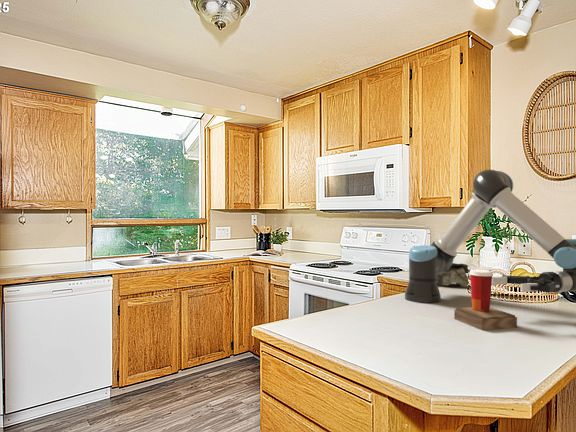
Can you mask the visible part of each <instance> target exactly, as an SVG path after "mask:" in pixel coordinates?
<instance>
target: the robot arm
mask: <svg viewBox="0 0 576 432" xmlns="http://www.w3.org/2000/svg"><path fill="white" fill-rule="evenodd" d="M472 187H473V190H472V191H471V198H470V200H469V201H468V202H467V203H466V205H465V206H464V207H463V208H462V209H461V211H460V212H459V213H458V214H457V216H456V218H455V219H454V220H453V222H452V223H451V224H450V225H449V227H448V228H447V229H446V231H445V232H443V234H442V236H441V237H440V238H437V239H434V241H432V243H431V244H430V245H429V244H428V245H425V244H424V245H414V246H412V247H411V248H410V249H409V252H408V259H409V260H408V264H409V265H408V282H407V283H408V284H407V286H406V288H405V293H404V298H405V299H406V300H407V301H411V302H416V303H426V304H427V303H438V302H441V299H442V298H441V297H442V296H441V292H440V289H439V285H438V284H437V272H442V271H445V270H447V269H448V268H449V267H450V266H451V265H452V263H454V259H455V258H456V256H458V253H457V250H458V249H459V248H460V247H461V245H462V244H463V243H464V241H465V240H466V239H467V238H468V236H469V235H470V234H471V233H472V231H474V229H475V228H476V226H477V225H478V224H479V223H480V221H481V220H482V219H483V218H484V217H485V216H486V214H487V213H488V212H489V210H490V209H493V208H497V209H498V210H499V211H500V212H501V213H503V214H504V215H505V216H506V217H507V218H508V219H509V220H510V221H511V222H512V223H513V224H515V225H516V226H517V227H518V228H519V229H520V230H522V231H523V232H524V233H525V234H526V235H527V236H528V237H529V238H530V239H531V240H533V242H535V243H536V244H537V245H539V247H540V248H542V249H543V250H544V251H545V252H546V253H547V255H549V256H550V257H551V258H552V259H553V261H554V263H555V264H556V265H557V266H558V267H560V268H562V270H560V271H559V270H558V271H544V272H543V271H542V272H541V273H540V274H539V275H538V276H529V275H525V276H524V275H523V276H522V275H504V274H503V275H502V276H497V277H492V285H496V286H498V285H505V286H507V285H508V284H512V285H520V286H519V287H520V293H534V292H540V293H541V292H544V293H547V294H548V293H549V294H551V293H558V294H562V293H563V292H564V293H565V292H576V238H575V239H574V238H565V237H564V236H563V235H561V234H560V233H559V232H558V231H557V230H556V229H555V228H553V227H552V226H551V225H550V224H549V223H547V222H546V221H545V220H544V219H543V218H542V217H540V215H538V213H536V212H535V211H534V210H533V209H531V208H530V207H529V206H528V205H526V204H525V203H524V202H523V201H522V200H521V199H520V198H519V197H517V196H516V195H515V194H513V189H514V182H513V179H512V178H511V176H510V175H509V174H508V173H506V172H504V171H502V170H495V169H484V170H482V171H480V172H478V173H477V174H476V175H475V177H474V179H473V182H472Z"/></svg>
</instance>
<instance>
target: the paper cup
mask: <svg viewBox="0 0 576 432" xmlns="http://www.w3.org/2000/svg"><path fill="white" fill-rule="evenodd" d="M468 275H470V291H471V293H470V295H471V307H472V309H473V310H476V311H482V312H487V311H489V309H490V307H491V296H492V295H491V285H492V276H493V274H492V272H491V271H489V270H478V269H476V268H475V269H471V270H470V272H468Z"/></svg>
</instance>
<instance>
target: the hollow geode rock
mask: <svg viewBox="0 0 576 432" xmlns="http://www.w3.org/2000/svg"><path fill="white" fill-rule="evenodd" d="M468 267H469V265H468V264H466V263H454V262H453V263H452V265H451V266H450V267H449V268H448V269H447V270H445V271H442V272H437V286H449V285H451V284H456V285H458V286H459V287H460V288H468V287H469V286H467V285H468V279H469V277H468V275H469V273H470V271H471V270H470V269H469V268H468ZM467 274H468V275H467Z"/></svg>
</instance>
